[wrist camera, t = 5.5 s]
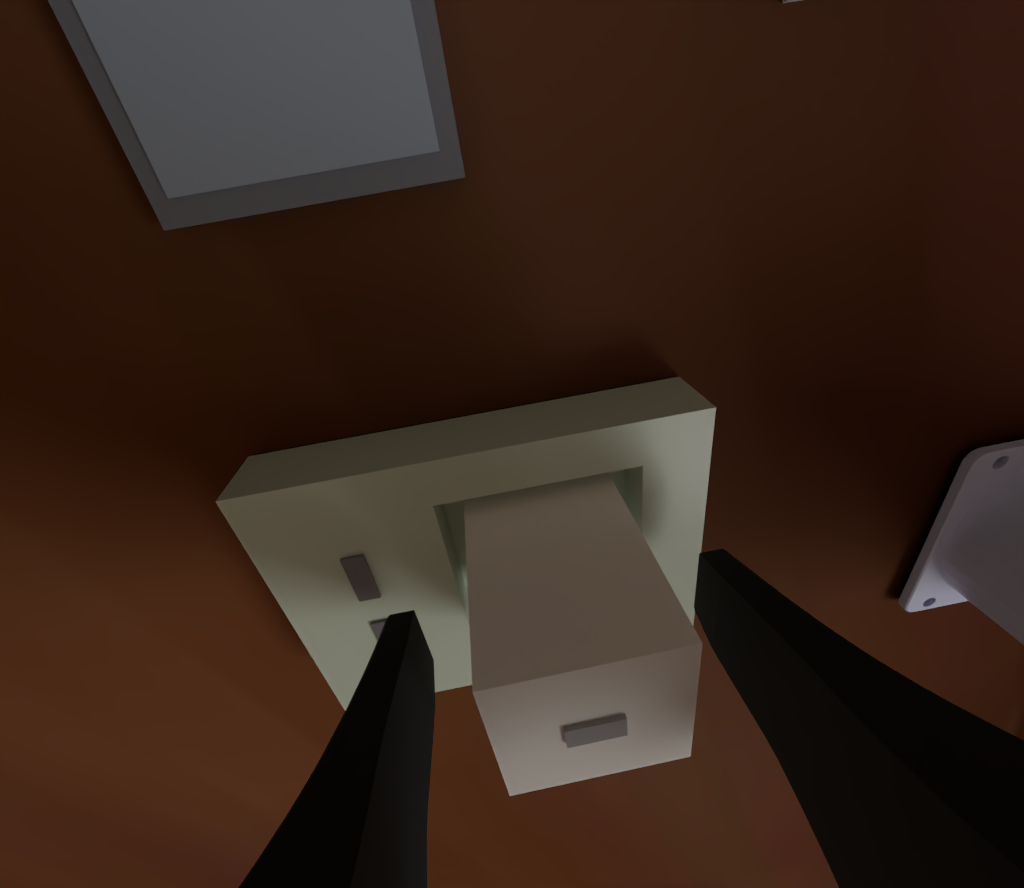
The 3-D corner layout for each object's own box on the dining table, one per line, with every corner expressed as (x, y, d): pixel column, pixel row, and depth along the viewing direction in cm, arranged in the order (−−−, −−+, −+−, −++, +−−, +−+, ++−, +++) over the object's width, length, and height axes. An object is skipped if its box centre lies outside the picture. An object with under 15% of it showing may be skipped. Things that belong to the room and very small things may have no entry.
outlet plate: (679, 376, 12) (718, 409, 11) (667, 593, 17) (693, 642, 15) (248, 456, 12) (213, 504, 10) (355, 656, 17) (344, 713, 15)
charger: (600, 458, 13) (705, 648, 8) (606, 557, 15) (692, 761, 10) (462, 485, 13) (472, 697, 7) (488, 582, 15) (510, 801, 10)
